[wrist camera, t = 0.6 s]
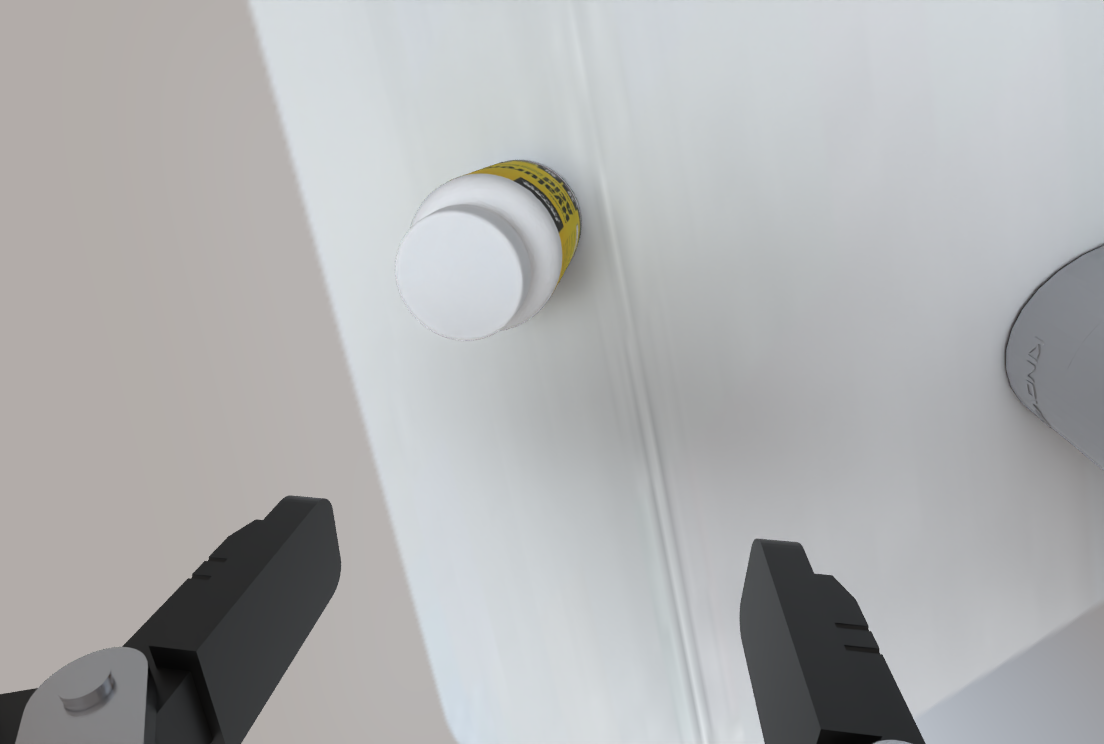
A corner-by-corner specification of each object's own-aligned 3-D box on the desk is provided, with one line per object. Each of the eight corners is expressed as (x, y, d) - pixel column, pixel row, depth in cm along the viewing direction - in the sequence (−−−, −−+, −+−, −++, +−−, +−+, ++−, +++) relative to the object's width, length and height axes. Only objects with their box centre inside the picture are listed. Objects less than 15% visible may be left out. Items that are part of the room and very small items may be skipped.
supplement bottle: (604, 192, 26) (579, 241, 17) (552, 299, 28) (505, 393, 19) (490, 134, 26) (402, 152, 16) (448, 247, 28) (350, 317, 19)
